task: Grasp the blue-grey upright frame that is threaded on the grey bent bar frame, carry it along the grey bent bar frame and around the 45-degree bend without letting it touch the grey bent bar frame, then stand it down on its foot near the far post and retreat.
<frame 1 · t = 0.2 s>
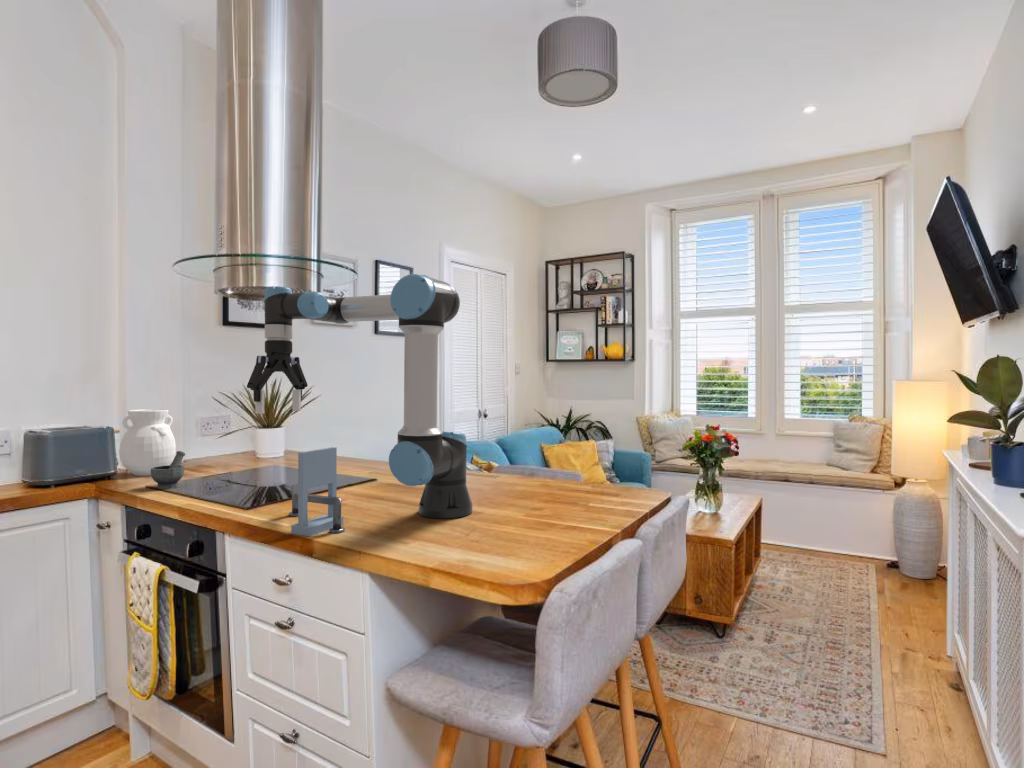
hand: (278, 412, 166), 28 cm above the countertop, fingers open, 13 cm apart
grey bent bar frame: (296, 525, 145), on the countertop
blue-grey upright frame: (318, 528, 143), on the countertop
mortar and pestle: (169, 487, 195), on the countertop
white handled vase: (148, 474, 219), on the countertop
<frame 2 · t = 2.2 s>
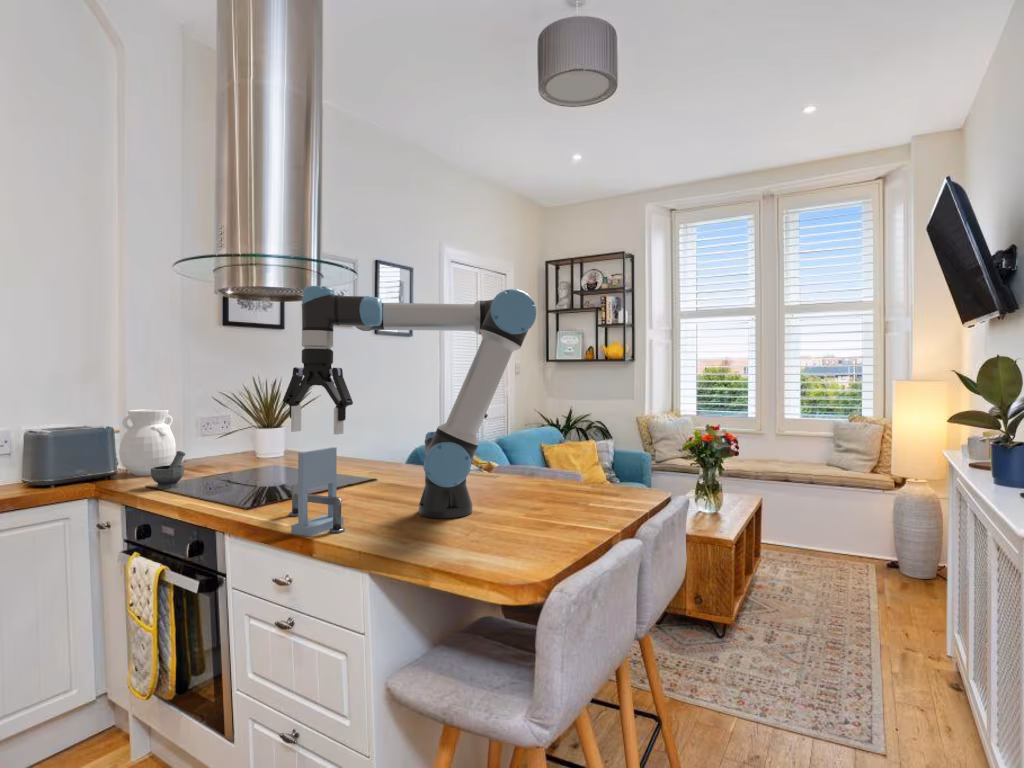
hand: (316, 432, 142), 24 cm above the countertop, fingers open, 13 cm apart
nothing on the countertop moved.
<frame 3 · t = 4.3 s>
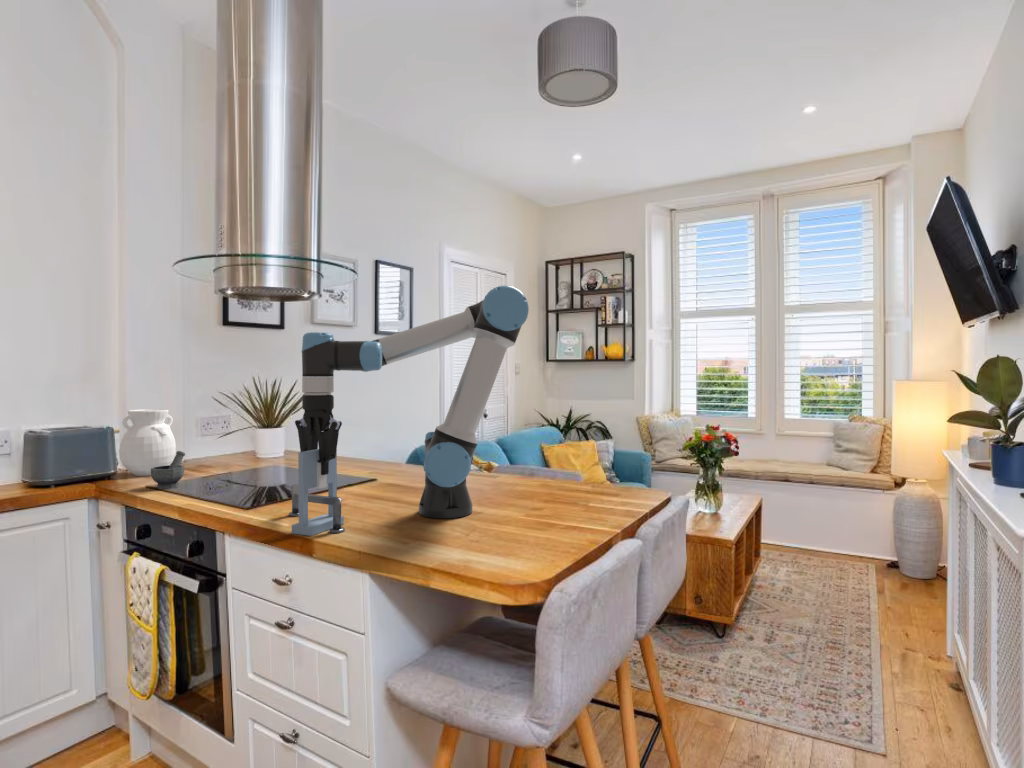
hand: (318, 487, 142), 11 cm above the countertop, fingers closed on blue-grey upright frame, 1 cm apart
blue-grey upright frame: (318, 528, 143), on the countertop, touching gripper
everything else where it was.
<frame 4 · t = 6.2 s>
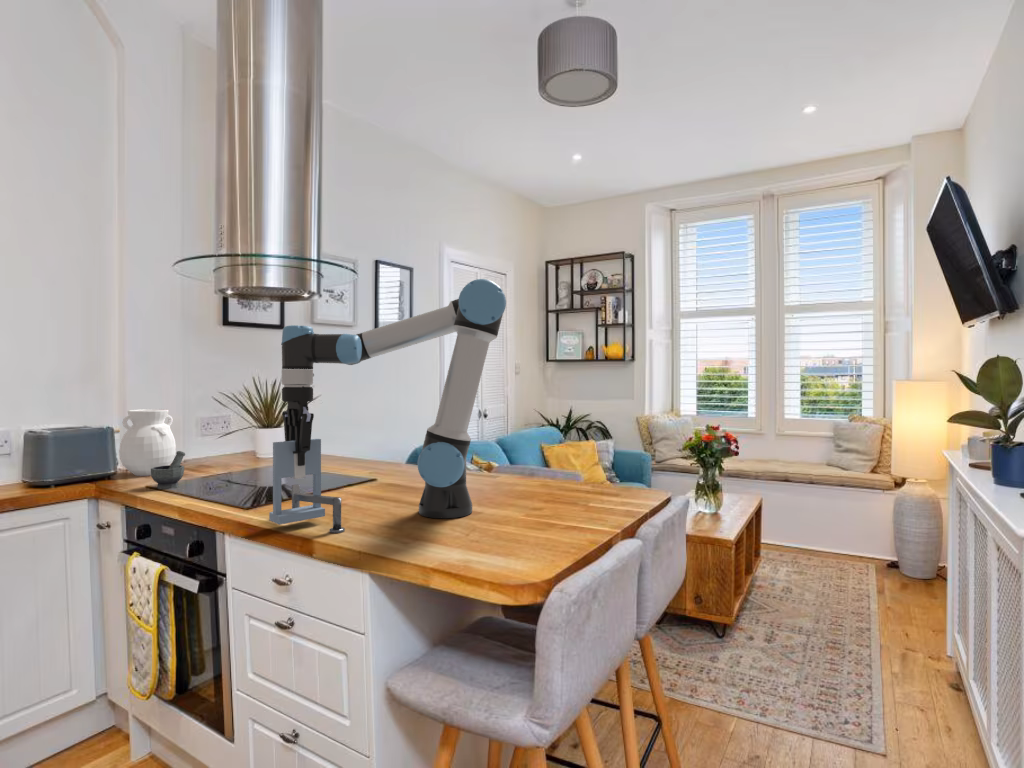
hand: (297, 477, 145), 13 cm above the countertop, fingers closed on blue-grey upright frame, 1 cm apart
blue-grey upright frame: (297, 518, 145), point 2 cm above the countertop, touching gripper
everything else where it was.
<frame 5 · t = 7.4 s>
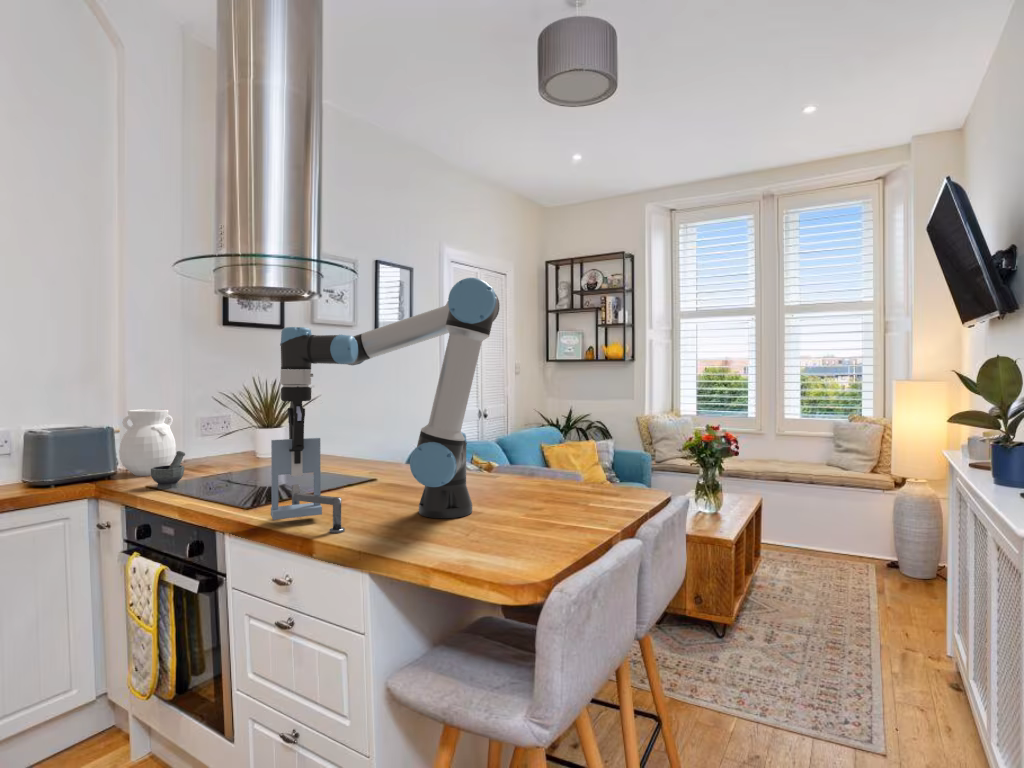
hand: (296, 475, 149), 12 cm above the countertop, fingers closed on blue-grey upright frame, 1 cm apart
blue-grey upright frame: (296, 514, 149), point 2 cm above the countertop, touching gripper
everything else where it was.
when the fingers open (11 cm above the countertop, at t = 8.3 s): blue-grey upright frame stays where it is, on the countertop.
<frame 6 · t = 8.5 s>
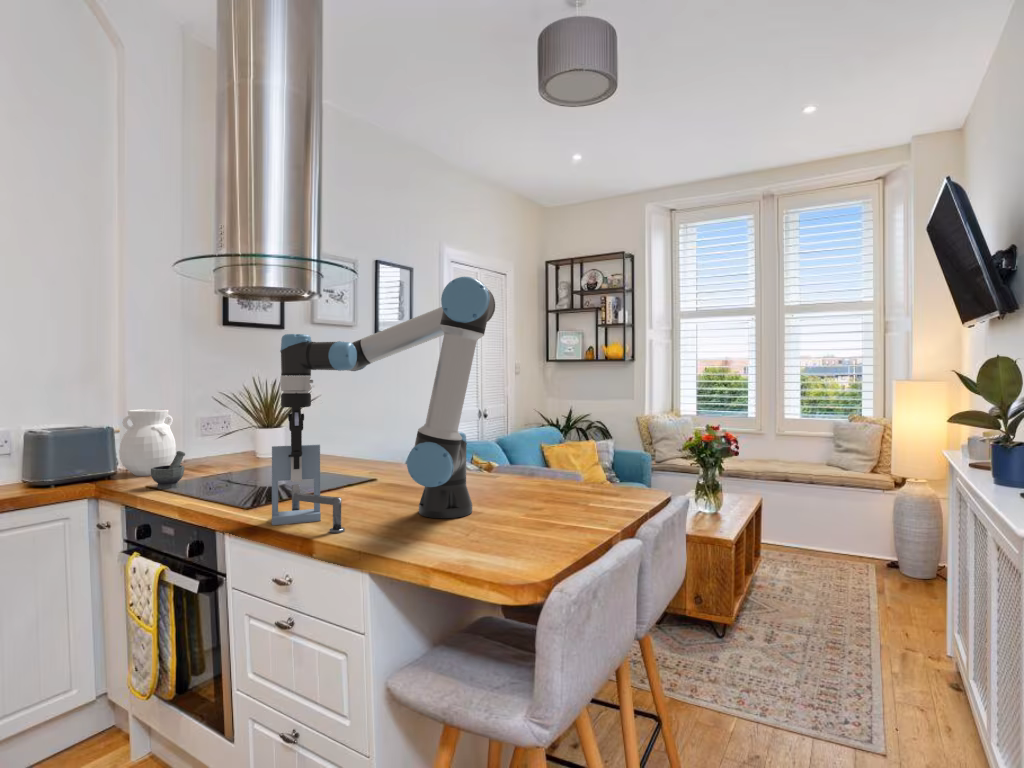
hand: (296, 479, 151), 11 cm above the countertop, fingers open, 4 cm apart
blue-grey upright frame: (296, 520, 151), on the countertop
everything else where it was.
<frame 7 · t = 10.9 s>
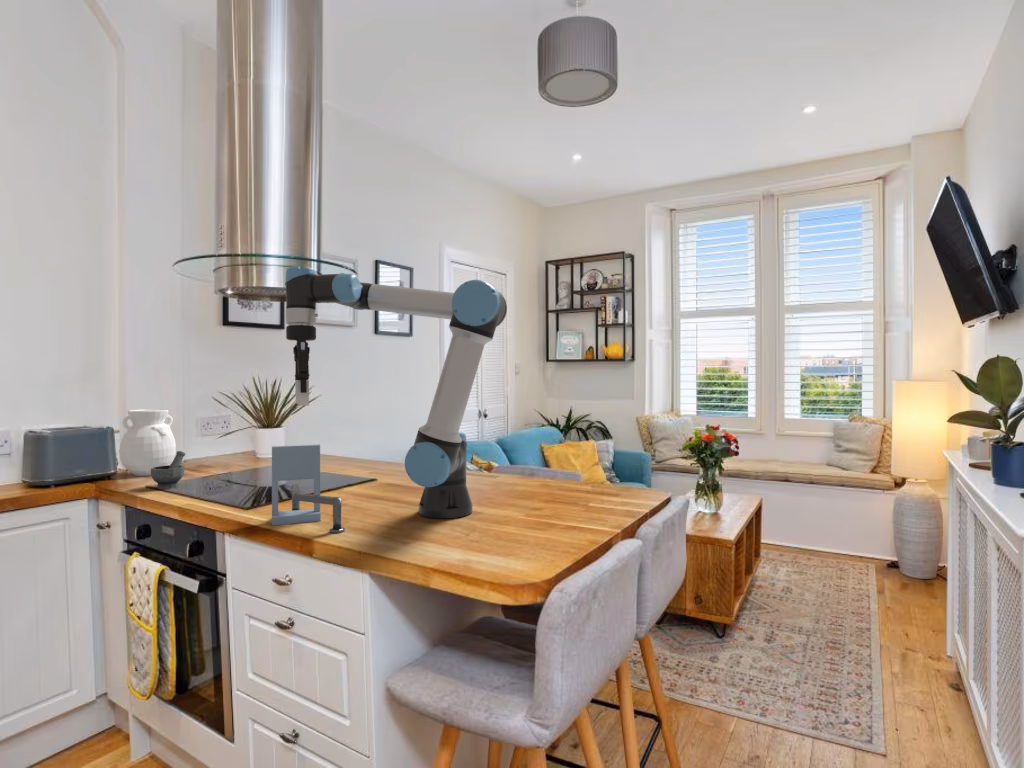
hand: (302, 404, 152), 31 cm above the countertop, fingers open, 13 cm apart
nothing on the countertop moved.
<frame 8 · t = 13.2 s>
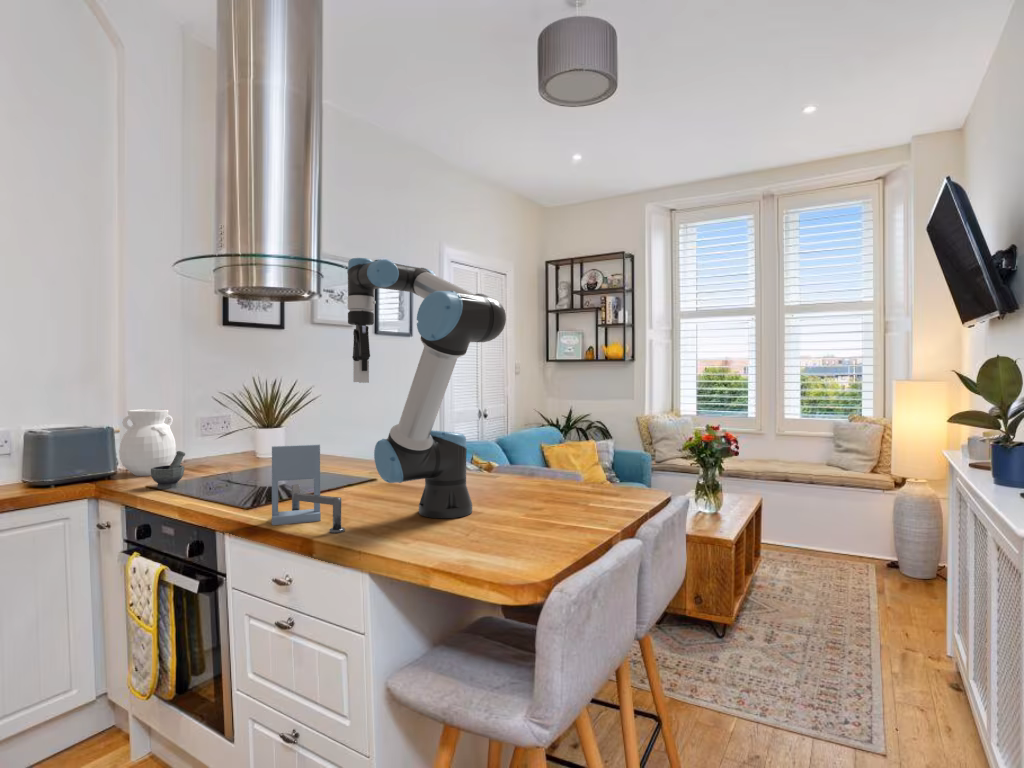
hand: (360, 382, 169), 37 cm above the countertop, fingers open, 13 cm apart
nothing on the countertop moved.
at the end: blue-grey upright frame inside the target area (0.1 cm from its centre), on the countertop; blue-grey upright frame tilted 0°; blue-grey upright frame touching countertop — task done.
